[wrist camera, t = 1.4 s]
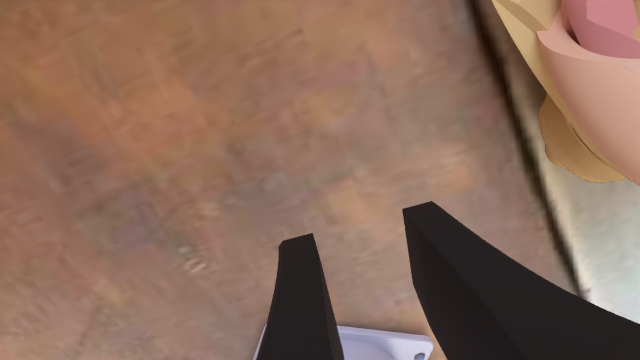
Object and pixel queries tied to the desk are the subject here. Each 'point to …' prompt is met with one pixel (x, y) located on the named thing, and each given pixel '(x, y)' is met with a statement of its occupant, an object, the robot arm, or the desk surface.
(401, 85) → the desk surface
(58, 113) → the desk surface
